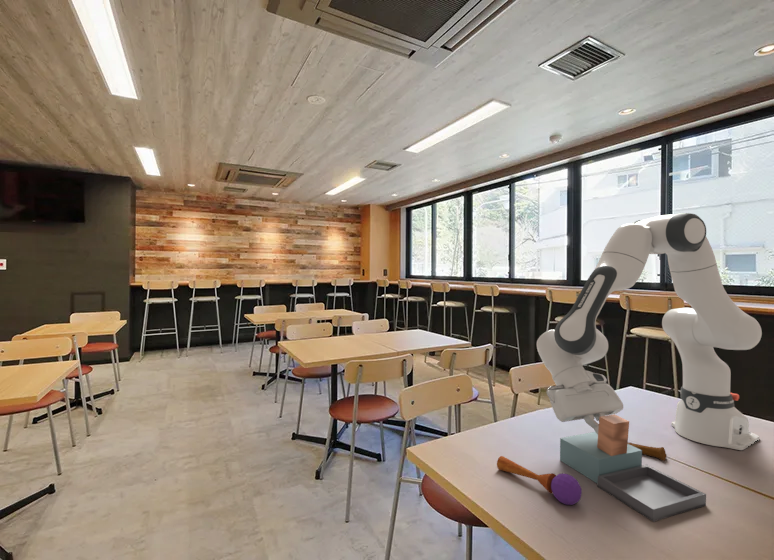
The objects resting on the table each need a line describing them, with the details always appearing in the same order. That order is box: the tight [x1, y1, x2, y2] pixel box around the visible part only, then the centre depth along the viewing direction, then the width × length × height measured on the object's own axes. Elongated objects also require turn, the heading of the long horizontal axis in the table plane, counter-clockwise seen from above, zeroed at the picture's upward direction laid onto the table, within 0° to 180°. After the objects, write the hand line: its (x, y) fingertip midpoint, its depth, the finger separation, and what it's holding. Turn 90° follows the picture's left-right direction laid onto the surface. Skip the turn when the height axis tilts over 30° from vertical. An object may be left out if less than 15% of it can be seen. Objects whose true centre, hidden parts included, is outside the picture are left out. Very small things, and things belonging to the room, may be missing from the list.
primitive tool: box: [628, 442, 668, 461], centre depth 107 cm, size 19×6×4 cm, turn 50°
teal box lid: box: [559, 431, 643, 485], centre depth 96 cm, size 14×12×6 cm
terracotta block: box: [597, 414, 630, 456], centre depth 92 cm, size 5×4×8 cm
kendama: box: [496, 455, 582, 506], centre depth 87 cm, size 6×6×20 cm
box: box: [597, 464, 707, 522], centre depth 84 cm, size 16×13×2 cm
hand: (604, 433), depth 95 cm, fingers closed, pressing on terracotta block
